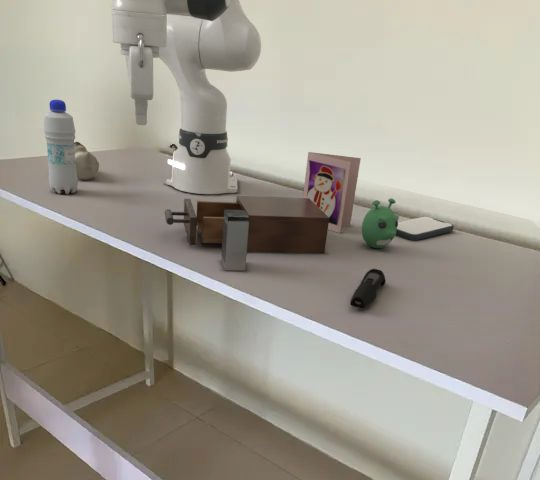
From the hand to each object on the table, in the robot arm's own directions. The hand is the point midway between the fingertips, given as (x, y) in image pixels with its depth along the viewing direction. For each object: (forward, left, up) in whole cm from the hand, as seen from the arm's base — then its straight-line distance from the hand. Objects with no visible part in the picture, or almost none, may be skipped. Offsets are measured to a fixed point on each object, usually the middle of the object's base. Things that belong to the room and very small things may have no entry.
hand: (140, 122), depth 106 cm
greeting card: (-26, +35, -21) cm, 48 cm away
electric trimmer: (+15, +44, -21) cm, 51 cm away
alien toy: (-13, +46, -21) cm, 52 cm away
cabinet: (-9, +25, -21) cm, 34 cm away
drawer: (-5, +13, -20) cm, 24 cm away
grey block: (+9, +20, -21) cm, 30 cm away
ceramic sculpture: (-42, -31, -21) cm, 57 cm away
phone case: (-30, +56, -21) cm, 67 cm away
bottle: (-25, -27, -21) cm, 43 cm away
